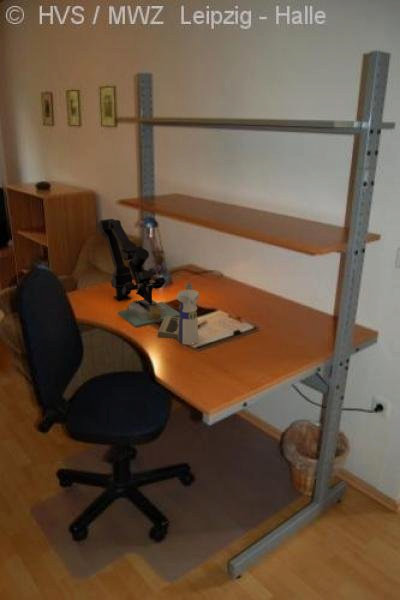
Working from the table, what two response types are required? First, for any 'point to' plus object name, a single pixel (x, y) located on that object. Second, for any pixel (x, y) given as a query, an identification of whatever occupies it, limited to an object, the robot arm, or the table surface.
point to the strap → (146, 303)
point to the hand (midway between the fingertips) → (151, 303)
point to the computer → (169, 327)
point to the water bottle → (188, 315)
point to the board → (138, 322)
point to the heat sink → (147, 311)
